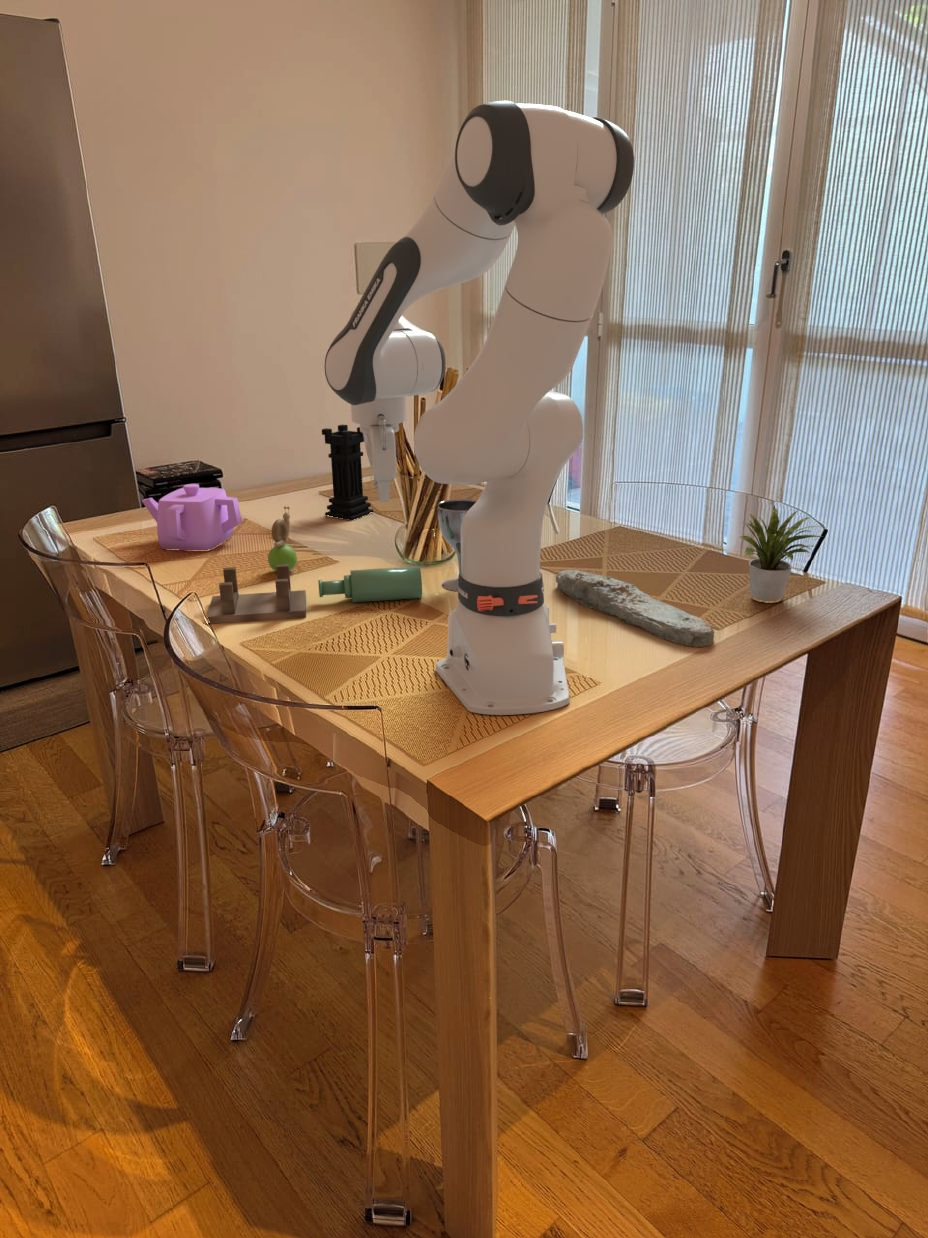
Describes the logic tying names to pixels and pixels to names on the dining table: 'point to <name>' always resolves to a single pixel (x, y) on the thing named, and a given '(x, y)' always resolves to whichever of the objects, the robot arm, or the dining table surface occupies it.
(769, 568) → the house plant
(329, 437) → the chess piece
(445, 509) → the wine glass
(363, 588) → the bottle
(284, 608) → the u-rest
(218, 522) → the teakettle
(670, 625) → the long grey stone
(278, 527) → the snail figurine
